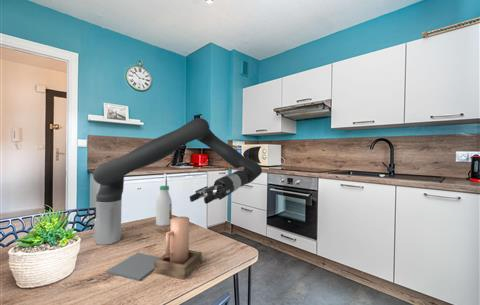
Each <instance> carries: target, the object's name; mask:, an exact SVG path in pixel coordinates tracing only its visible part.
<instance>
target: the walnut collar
mask: <svg viewBox="0 0 480 305" xmlns="http://www.w3.org/2000/svg"><path fill="white" fill-rule="evenodd" d="M159 257H160V256H159ZM202 263H203V252H202V251H197V250H191V249H189V260H188V261H187V262H186V263H185V264H183V265H182V264H177V263H172V262H170V257H169V258H167V257H166V253H165V254H163V255H162V256H161V257H160V258H159V259H158V260H156V261H155V262H154V271H153V273H154V274H157V275H162V276H166V277H171V278H175V279H179V280H186V279H187V278H188V277H189V276H190V274H192V273H193V272H194V271H195V270H196V268H198V267H199V265H201V264H202Z"/></svg>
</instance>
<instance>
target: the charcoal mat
mask: <svg viewBox="0 0 480 305" xmlns="http://www.w3.org/2000/svg"><path fill="white" fill-rule="evenodd" d="M159 258H160V256H156V255H152V254H148V253H147V254H146V253H140V252H136V253H135V254H133V255H131V256H130V257H127V258H126V259H124V260H122V261H121V262H119V263H118V264H115V265H114V266H112V267H111V268H109V269H107V270H106V271H105V273H106V274H110V275H114V276H117V277H121V278H126V279H129V280H133V281H138V282H140V281H142V280H143V279H145V278H146V277H147V276H148V275H150V274H151V273H153V272H154V262H155V261H156V260H158V259H159Z"/></svg>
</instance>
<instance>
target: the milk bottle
mask: <svg viewBox="0 0 480 305" xmlns="http://www.w3.org/2000/svg"><path fill="white" fill-rule="evenodd" d="M169 190H170V186H169V185H160V186H159V194H158V197H157V200H156V206H155V207H156V208H155V225H156V226H158V227H165V226H169V225H171V219H172V218H173V217H172V214H173V213H172V212H173V211H172V209H173V207H172V206H173V204H172V198H171V196H170V192H169Z"/></svg>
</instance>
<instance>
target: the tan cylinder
mask: <svg viewBox="0 0 480 305" xmlns="http://www.w3.org/2000/svg"><path fill="white" fill-rule="evenodd" d="M169 227H170V228H169V229H170V231H167V232H166V233H165V254H166V257H167V258H169V257H170V262H172V263H177V264H182V265H183V264H185V263H186V262H187V261H188V260H189V250H190V249H189V248H190V217H188V216H176V217H172V218H171V224H170V226H169Z"/></svg>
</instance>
